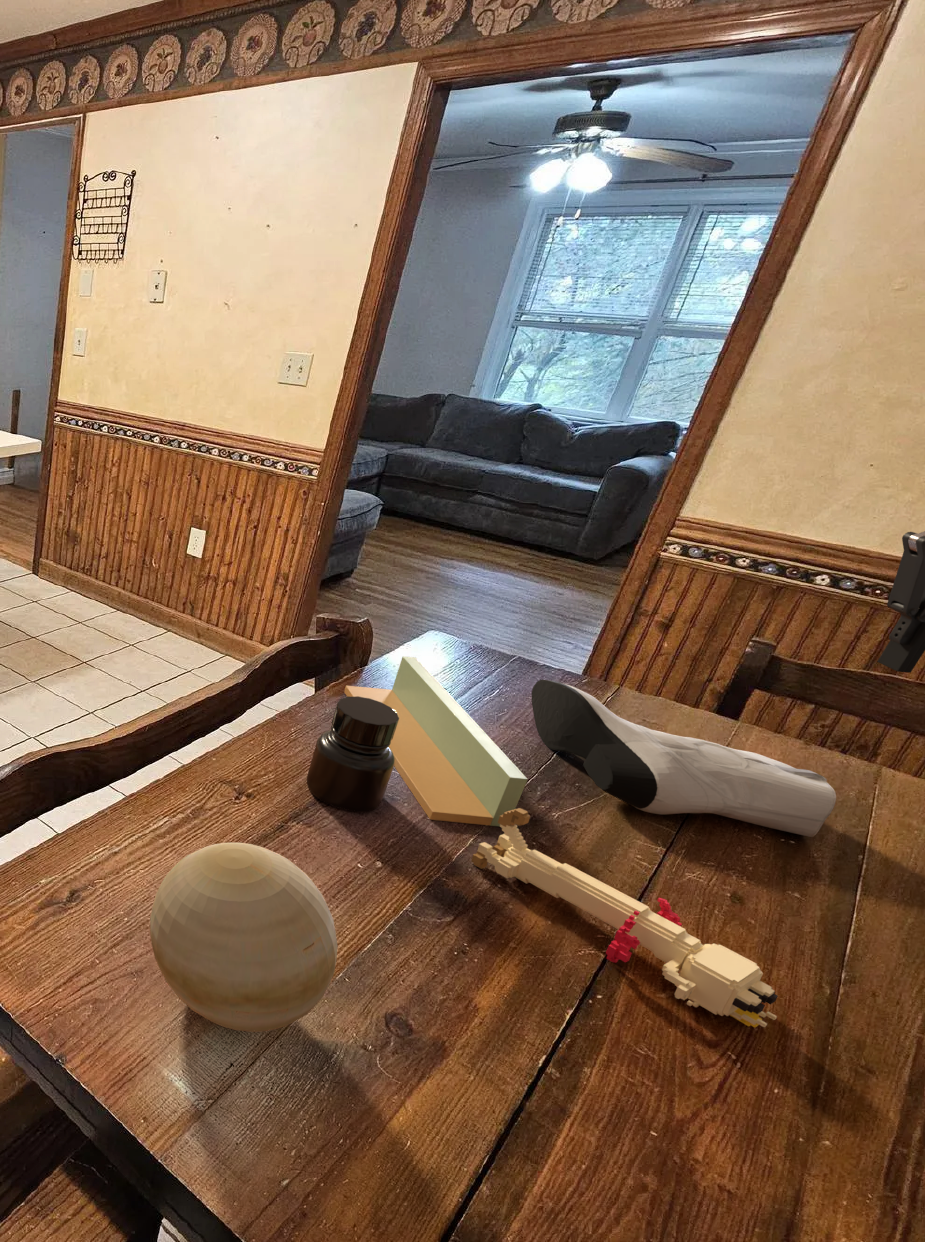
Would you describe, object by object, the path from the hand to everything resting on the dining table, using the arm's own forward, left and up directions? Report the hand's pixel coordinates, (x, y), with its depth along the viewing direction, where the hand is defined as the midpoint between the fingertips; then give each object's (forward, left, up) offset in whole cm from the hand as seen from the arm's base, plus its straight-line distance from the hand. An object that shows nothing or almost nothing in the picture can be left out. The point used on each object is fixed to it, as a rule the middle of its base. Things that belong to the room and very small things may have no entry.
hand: (893, 666), depth 98 cm
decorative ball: (+87, +46, -18) cm, 100 cm away
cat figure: (+47, +33, -18) cm, 60 cm away
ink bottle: (+66, +12, -18) cm, 70 cm away
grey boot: (+21, 0, -18) cm, 28 cm away
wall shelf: (+52, 0, -18) cm, 56 cm away
